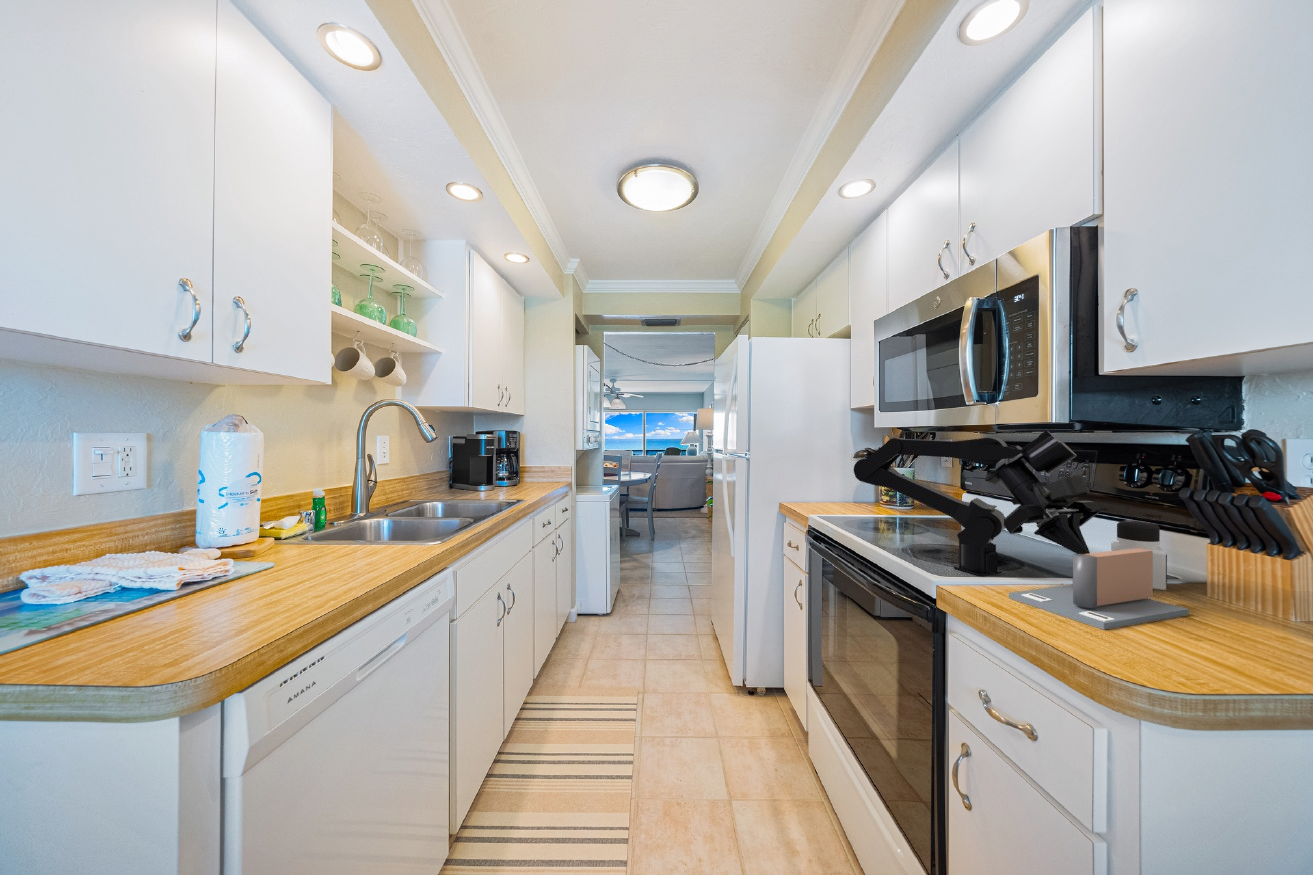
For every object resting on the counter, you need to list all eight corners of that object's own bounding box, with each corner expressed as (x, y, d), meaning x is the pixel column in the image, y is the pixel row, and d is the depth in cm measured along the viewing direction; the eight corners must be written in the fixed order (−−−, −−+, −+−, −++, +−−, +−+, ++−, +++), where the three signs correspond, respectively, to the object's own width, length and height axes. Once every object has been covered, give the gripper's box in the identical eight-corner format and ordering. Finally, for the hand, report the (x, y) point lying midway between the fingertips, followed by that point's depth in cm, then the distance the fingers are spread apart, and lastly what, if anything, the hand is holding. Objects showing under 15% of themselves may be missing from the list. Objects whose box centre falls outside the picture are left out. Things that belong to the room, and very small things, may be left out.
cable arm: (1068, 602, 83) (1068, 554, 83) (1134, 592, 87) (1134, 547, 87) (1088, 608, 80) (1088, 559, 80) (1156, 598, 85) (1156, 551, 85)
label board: (1008, 598, 90) (1008, 591, 90) (1086, 587, 95) (1086, 581, 95) (1103, 629, 75) (1103, 621, 75) (1188, 615, 81) (1188, 607, 81)
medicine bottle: (1167, 591, 93) (1167, 526, 93) (1115, 584, 97) (1115, 522, 97) (1159, 581, 99) (1159, 521, 98) (1110, 575, 103) (1111, 517, 103)
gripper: (1018, 462, 92) (1084, 533, 82) (1090, 459, 97) (1161, 526, 87) (980, 499, 100) (1036, 568, 89) (1048, 494, 105) (1109, 559, 95)
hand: (1086, 555), depth 90 cm, fingers closed
